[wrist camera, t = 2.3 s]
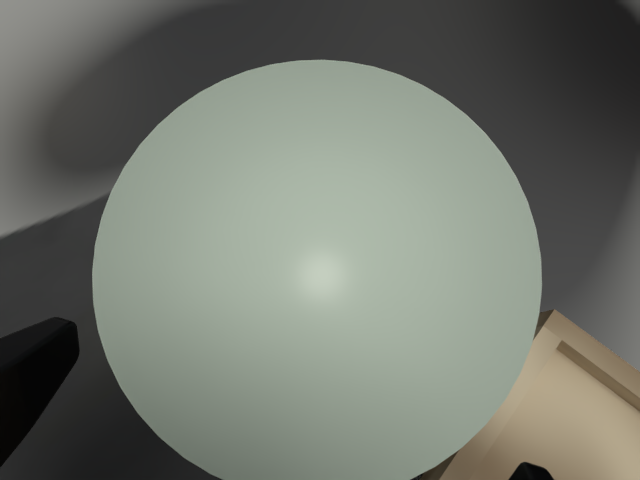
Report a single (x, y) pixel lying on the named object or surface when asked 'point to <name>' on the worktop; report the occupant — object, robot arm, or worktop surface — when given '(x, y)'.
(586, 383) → the tray
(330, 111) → the pillar candle
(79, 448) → the worktop surface
